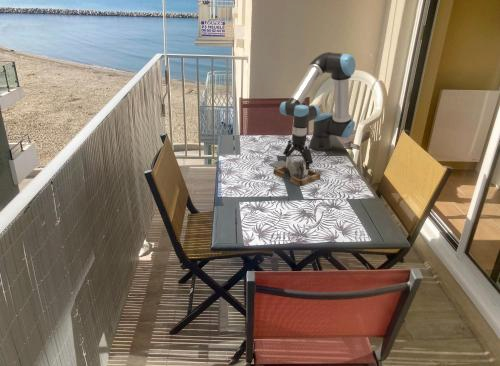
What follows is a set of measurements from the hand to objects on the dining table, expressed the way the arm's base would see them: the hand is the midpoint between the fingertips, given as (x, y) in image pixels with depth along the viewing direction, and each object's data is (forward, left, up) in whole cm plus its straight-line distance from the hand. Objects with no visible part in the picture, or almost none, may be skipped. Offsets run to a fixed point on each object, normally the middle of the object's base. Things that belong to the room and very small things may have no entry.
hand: (296, 170), depth 232 cm
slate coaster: (-5, -17, -4) cm, 18 cm away
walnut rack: (0, 0, -4) cm, 4 cm away
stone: (0, 0, -4) cm, 4 cm away
